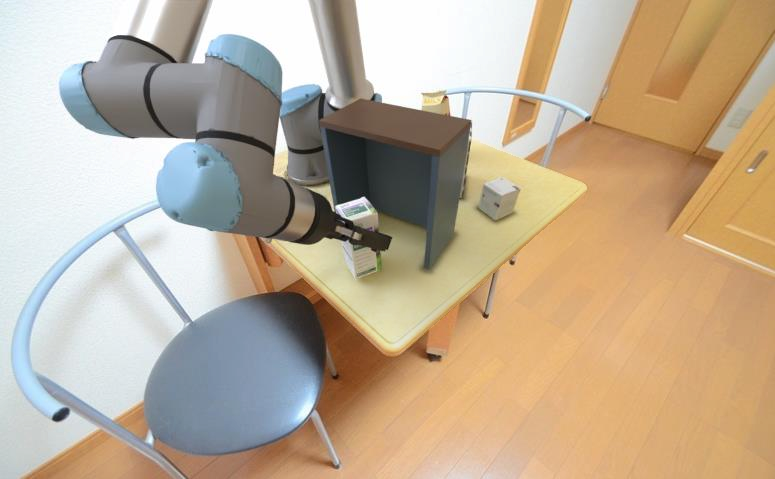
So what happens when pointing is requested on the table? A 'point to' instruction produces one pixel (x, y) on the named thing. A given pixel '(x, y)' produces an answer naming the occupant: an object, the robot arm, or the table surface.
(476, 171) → the table surface
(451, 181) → the cupboard
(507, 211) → the product carton
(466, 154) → the candy bar box
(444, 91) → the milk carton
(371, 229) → the syrup box
